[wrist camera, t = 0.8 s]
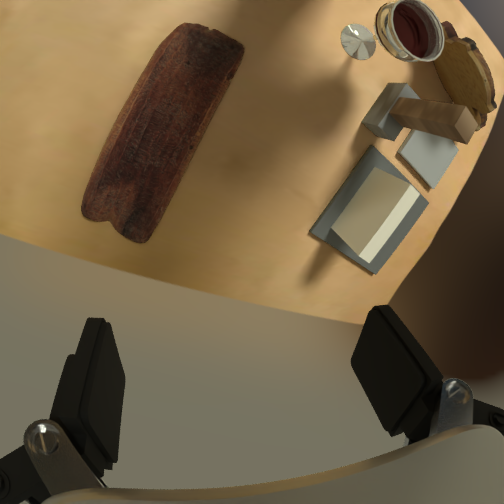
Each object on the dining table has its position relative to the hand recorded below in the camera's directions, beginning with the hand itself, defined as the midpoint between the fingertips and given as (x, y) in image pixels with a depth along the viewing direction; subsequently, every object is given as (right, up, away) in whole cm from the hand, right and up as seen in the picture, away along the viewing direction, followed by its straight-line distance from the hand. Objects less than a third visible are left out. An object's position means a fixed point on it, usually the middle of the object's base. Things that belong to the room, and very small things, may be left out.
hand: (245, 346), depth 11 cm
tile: (+14, +10, +29) cm, 33 cm away
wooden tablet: (-10, +17, +22) cm, 29 cm away
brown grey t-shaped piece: (+17, +22, +24) cm, 36 cm away
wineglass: (+13, +29, +19) cm, 37 cm away
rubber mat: (+17, +9, +31) cm, 36 cm away
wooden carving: (+28, +29, +22) cm, 46 cm away
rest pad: (+26, +18, +27) cm, 42 cm away
